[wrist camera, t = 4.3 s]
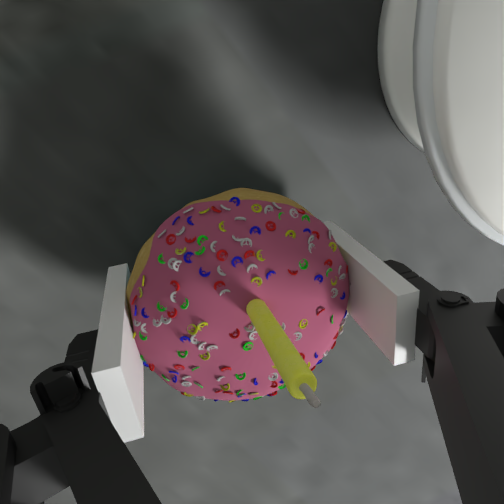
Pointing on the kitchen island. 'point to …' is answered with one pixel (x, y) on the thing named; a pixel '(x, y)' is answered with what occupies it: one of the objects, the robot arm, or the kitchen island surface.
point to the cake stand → (450, 97)
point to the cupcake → (239, 297)
